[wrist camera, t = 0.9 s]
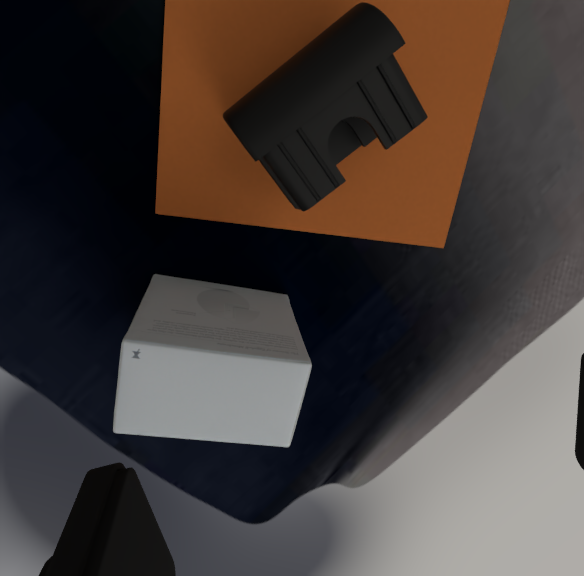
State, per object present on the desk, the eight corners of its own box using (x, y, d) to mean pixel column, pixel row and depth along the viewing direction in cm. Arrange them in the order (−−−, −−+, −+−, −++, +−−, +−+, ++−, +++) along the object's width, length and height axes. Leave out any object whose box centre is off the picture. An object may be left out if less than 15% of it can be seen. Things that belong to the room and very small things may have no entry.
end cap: (343, 17, 28) (376, -16, 21) (399, 114, 30) (443, 109, 24) (221, 116, 29) (219, 113, 22) (285, 202, 31) (299, 220, 25)
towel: (172, -142, 24) (172, -145, 24) (521, -51, 28) (524, -53, 28) (156, 212, 30) (155, 213, 30) (441, 247, 34) (443, 248, 34)
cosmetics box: (143, 349, 34) (109, 438, 24) (153, 272, 32) (119, 334, 22) (273, 365, 36) (290, 453, 26) (290, 294, 34) (315, 359, 24)
